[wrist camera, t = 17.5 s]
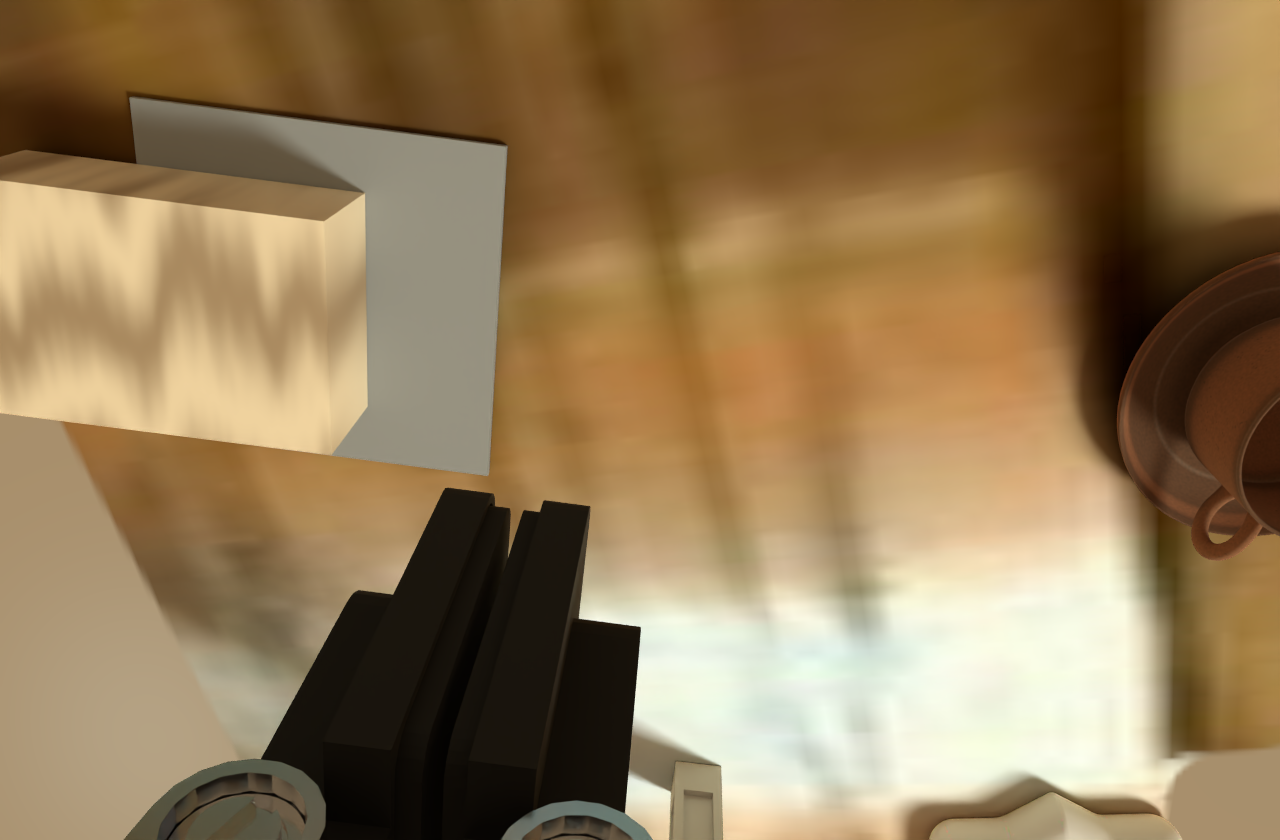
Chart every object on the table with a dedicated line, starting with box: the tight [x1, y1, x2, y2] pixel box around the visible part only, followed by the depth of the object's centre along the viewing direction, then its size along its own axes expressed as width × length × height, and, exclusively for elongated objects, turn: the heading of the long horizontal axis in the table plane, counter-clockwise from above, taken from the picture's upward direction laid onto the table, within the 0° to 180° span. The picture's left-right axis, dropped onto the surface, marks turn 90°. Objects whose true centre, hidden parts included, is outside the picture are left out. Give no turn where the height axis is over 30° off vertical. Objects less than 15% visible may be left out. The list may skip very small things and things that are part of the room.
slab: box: [0, 150, 368, 455], centre depth 36 cm, size 9×4×13 cm
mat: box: [129, 96, 507, 476], centre depth 38 cm, size 14×14×1 cm
